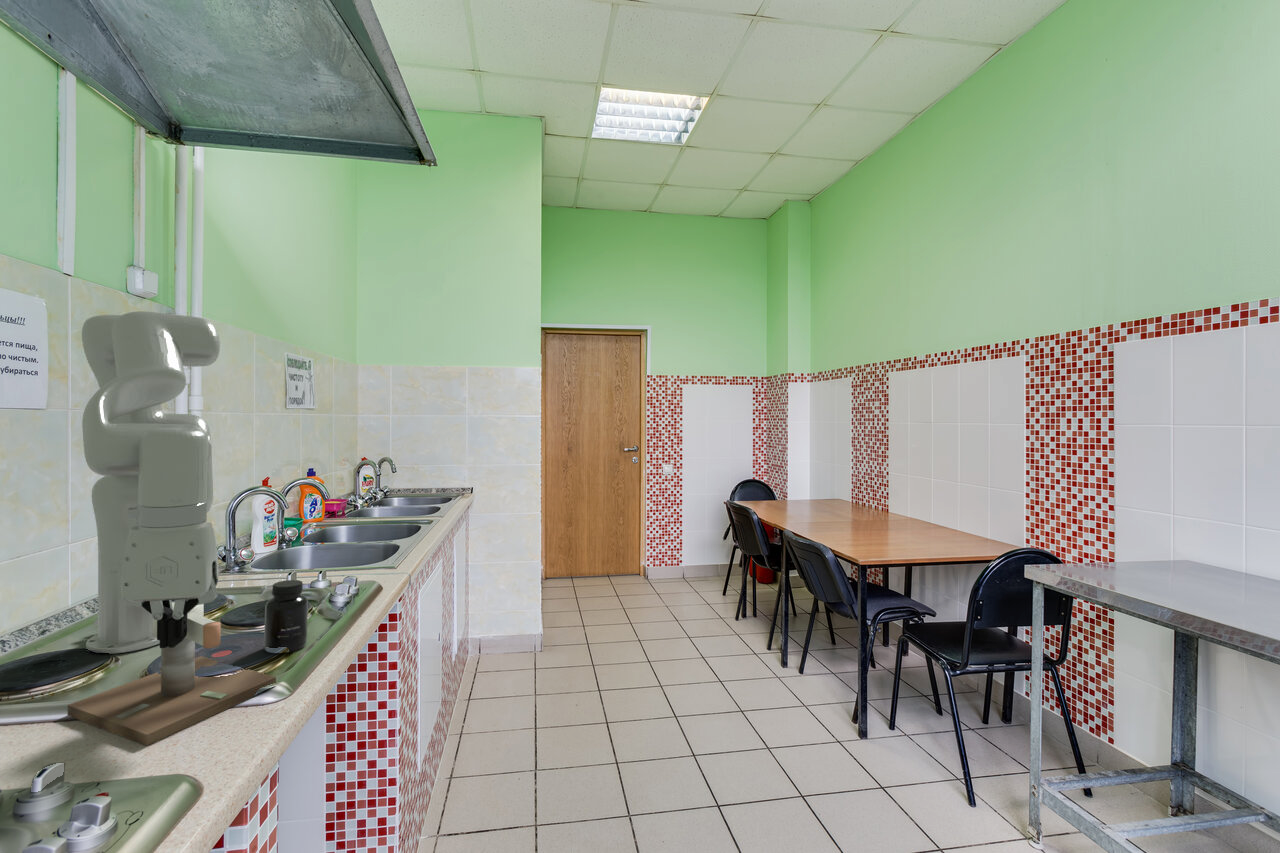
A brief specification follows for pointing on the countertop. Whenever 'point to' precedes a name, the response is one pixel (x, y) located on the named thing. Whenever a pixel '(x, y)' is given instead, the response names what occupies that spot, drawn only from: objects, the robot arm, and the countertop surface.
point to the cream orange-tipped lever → (199, 628)
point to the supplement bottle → (286, 616)
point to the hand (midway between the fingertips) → (172, 643)
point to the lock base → (168, 697)
